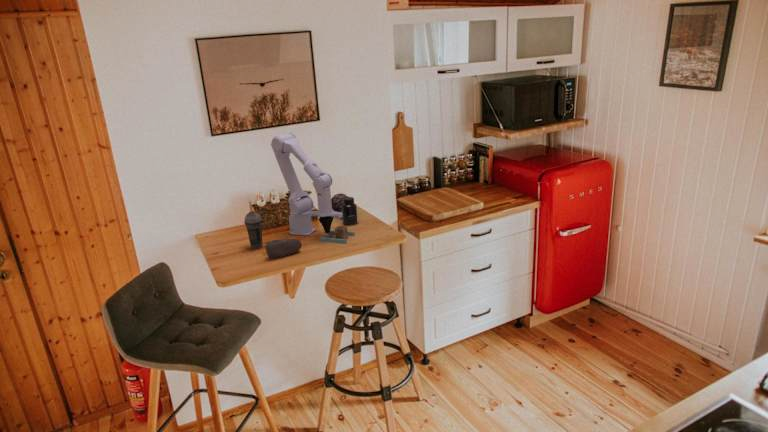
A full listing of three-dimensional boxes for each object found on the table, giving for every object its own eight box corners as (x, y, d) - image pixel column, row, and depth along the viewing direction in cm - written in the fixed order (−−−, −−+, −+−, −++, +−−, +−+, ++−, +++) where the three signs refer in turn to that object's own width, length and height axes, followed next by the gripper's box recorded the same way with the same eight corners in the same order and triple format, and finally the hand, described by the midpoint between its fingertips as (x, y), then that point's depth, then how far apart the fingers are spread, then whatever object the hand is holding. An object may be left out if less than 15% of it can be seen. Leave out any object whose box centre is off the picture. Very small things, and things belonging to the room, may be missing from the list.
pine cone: (343, 222, 246) (341, 201, 243) (327, 212, 261) (325, 193, 257) (363, 217, 251) (361, 197, 247) (346, 208, 265) (344, 189, 262)
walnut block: (335, 240, 225) (334, 229, 223) (339, 236, 228) (338, 226, 227) (344, 240, 223) (343, 229, 222) (348, 237, 227) (347, 226, 225)
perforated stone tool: (300, 249, 217) (298, 233, 215) (304, 253, 213) (302, 237, 211) (264, 257, 212) (262, 240, 209) (267, 261, 207) (265, 245, 205)
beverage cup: (250, 251, 217) (243, 205, 211) (246, 246, 224) (239, 201, 217) (267, 247, 221) (261, 202, 214) (263, 242, 227) (256, 198, 220)
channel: (320, 241, 224) (319, 238, 224) (329, 233, 233) (329, 230, 232) (346, 243, 220) (345, 240, 220) (354, 235, 229) (354, 232, 228)
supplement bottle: (351, 226, 239) (349, 201, 235) (339, 224, 243) (337, 199, 239) (360, 222, 244) (358, 197, 241) (349, 219, 248) (347, 195, 245)
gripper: (304, 204, 222) (308, 234, 226) (336, 206, 217) (339, 237, 221) (312, 199, 228) (315, 229, 232) (343, 201, 223) (346, 231, 227)
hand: (327, 232), depth 227 cm, fingers closed
